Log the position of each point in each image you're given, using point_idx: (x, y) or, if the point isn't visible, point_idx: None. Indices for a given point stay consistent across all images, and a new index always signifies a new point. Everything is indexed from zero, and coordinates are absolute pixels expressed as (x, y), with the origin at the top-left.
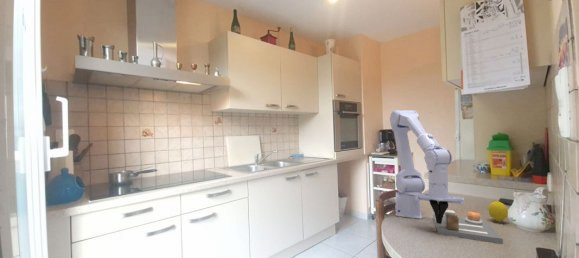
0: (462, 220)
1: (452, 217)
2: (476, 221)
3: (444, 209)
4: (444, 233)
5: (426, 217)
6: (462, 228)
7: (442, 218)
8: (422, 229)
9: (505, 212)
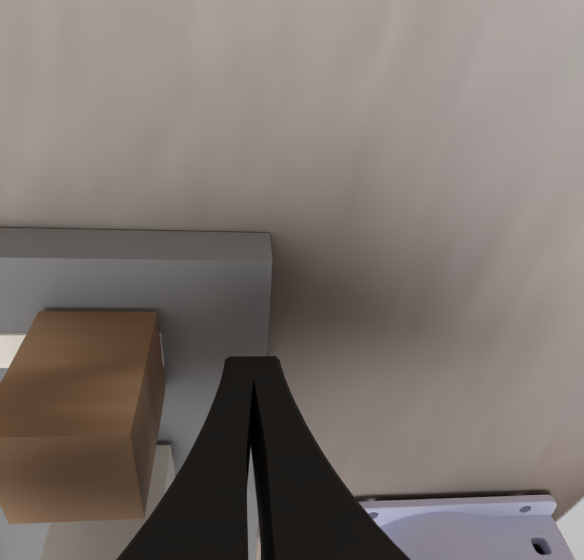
0: (18, 549)
1: (61, 438)
2: None
3: (163, 541)
4: (205, 240)
5: None
6: None
7: None
8: (409, 299)
9: None
